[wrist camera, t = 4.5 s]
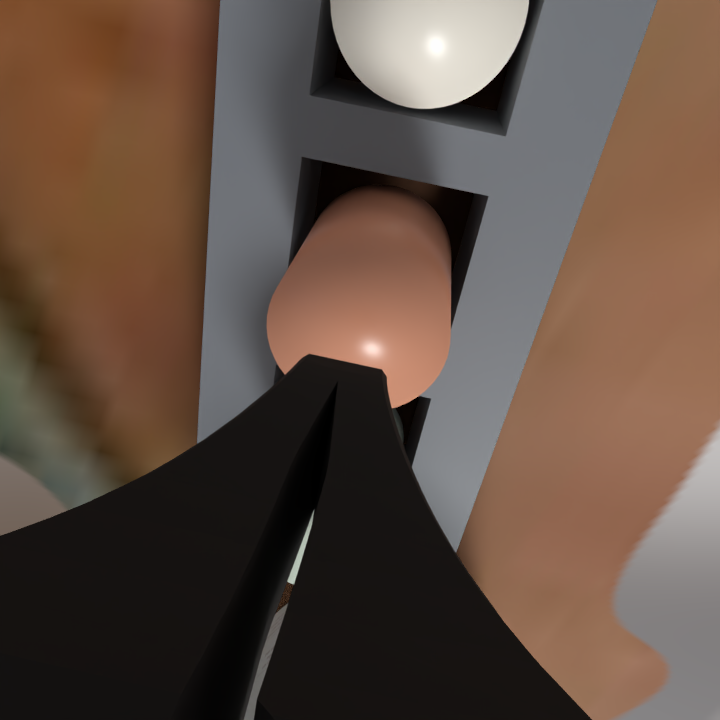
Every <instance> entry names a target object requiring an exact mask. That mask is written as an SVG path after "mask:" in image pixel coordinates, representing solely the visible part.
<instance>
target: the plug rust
mask: <svg viewBox="0 0 720 720" xmlns="http://www.w3.org/2000/svg"><path fill="white" fill-rule="evenodd" d="M267 336H268V341H269V345H270V349H271V351H272V354H273V356H274V358H275V360H276V362H277V364H278V366H279V367H280V369H281V370H282V372H283V373H284V374H286V373H287V372H288V371H289V370H290V369H291V368H292V367H293V366H294V365H295V364H296V363H297V362H298V361H299V360H300V359H301V358H302V357H304V356H306V355H308V354H313V355H318V356H322V357H327V358H332V359H336V360H341V361H345V362H350V363H355V364H359V365H364V366H369V367H373V368H378V369H382V370H383V372H384V373H385V375H386V376H387V387H388V393H389V398H390V403H391V407H392V408H396V407H399V406H401V405H403V404H406V403H408V402H410V401H411V400H413V399H415V398H417V397H418V396H419V395H421V394H422V393H423V392H424V391H426V390H427V389H428V388H429V387H430V386H431V385H432V384H433V382H434V381H435V380H436V378H437V377H438V376H439V374H440V372H441V371H442V369H443V367H444V365H445V362H446V359H447V357H448V353H449V348H450V338H451V244H450V239H449V235H448V232H447V230H446V227H445V225H444V223H443V221H442V220H441V218H440V217H439V215H438V214H437V213H436V211H435V210H434V209H433V208H432V207H431V206H430V205H429V204H428V203H427V202H426V201H424V200H423V199H422V198H421V197H419V196H417V195H415V194H414V193H412V192H410V191H407V190H405V189H403V188H399V187H395V186H390V185H366V186H361V187H358V188H354V189H352V190H349V191H347V192H345V193H343V194H342V195H340V196H338V197H337V198H336V199H334V200H333V201H332V202H331V203H330V204H329V205H328V206H327V207H326V208H325V209H324V210H323V212H322V213H321V214H320V216H319V217H318V219H317V221H316V222H315V224H314V226H313V227H312V229H311V231H310V232H309V234H308V236H307V237H306V239H305V241H304V243H303V244H302V246H301V248H300V249H299V251H298V253H297V254H296V256H295V258H294V259H293V261H292V263H291V264H290V266H289V268H288V269H287V271H286V273H285V274H284V276H283V278H282V280H281V281H280V283H279V285H278V286H277V288H276V290H275V292H274V294H273V296H272V299H271V301H270V304H269V308H268V314H267Z"/></svg>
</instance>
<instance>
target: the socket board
mask: <svg viewBox="0 0 720 720" xmlns="http://www.w3.org/2000/svg"><path fill="white" fill-rule="evenodd" d="M656 3H657V0H529V5H528V12H527V17H526V21H525V25H524V28H523V31H522V34H521V37H520V39H519V42H518V44H517V46H516V48H515V50H514V52H513V54H512V56H511V59H510V63H509V67H508V71H507V74H506V78H505V82H504V85H503V89H502V93H501V96H500V100H499V104H498V107H497V111H495V110H490V109H485V108H481V107H476V106H471V105H466V104H461V103H455V104H452V105H448V106H445V107H439V108H432V109H417V108H410V107H405V106H401V105H398V104H395V103H393V102H390V101H388V100H386V99H384V98H382V97H381V96H379V95H377V94H376V93H374V92H373V91H372V90H370V89H369V88H368V87H367V86H365V85H364V84H363V83H360V82H356V81H351V80H346V79H341V78H336V77H335V70H336V63H337V56H338V49H339V45H338V43H337V40H336V36H335V33H334V29H333V24H332V17H331V3H330V0H220V15H219V34H218V53H217V72H216V91H215V110H214V129H213V149H212V168H211V187H210V206H209V225H208V244H207V263H206V282H205V301H204V320H203V339H202V358H201V378H200V397H199V416H198V435H197V444H198V443H199V442H201V441H202V440H204V439H205V438H207V437H208V436H209V435H211V434H212V433H214V432H215V431H216V430H218V429H219V428H221V427H222V426H223V425H225V424H226V423H228V422H229V421H230V420H232V419H233V418H235V417H236V416H237V415H238V414H240V413H241V412H242V411H244V410H245V409H246V408H247V407H248V406H250V405H251V404H252V403H253V402H254V401H256V400H257V399H258V398H259V397H261V396H262V395H263V394H264V393H265V392H267V391H268V390H269V389H270V388H271V387H272V386H273V385H274V384H276V383H277V382H278V381H279V380H280V379H281V378H282V377H283V376H284V375H285V374H284V373H283V372H282V370H281V369H280V367H279V366H278V364H277V362H276V360H275V358H274V356H273V354H272V351H271V349H270V345H269V341H268V336H267V314H268V308H269V304H270V301H271V299H272V296H273V294H274V292H275V290H276V288H277V286H278V285H279V283H280V281H281V280H282V278H283V276H284V274H285V273H286V271H287V269H288V268H289V266H290V264H291V263H292V261H293V259H294V258H295V256H296V254H297V253H298V251H299V249H300V248H301V246H302V244H303V243H304V241H305V239H306V237H307V236H308V234H309V232H310V231H311V229H312V227H313V225H314V218H315V211H316V204H317V197H318V190H319V183H320V176H321V169H322V161H325V162H330V163H334V164H339V165H344V166H349V167H353V168H358V169H363V170H368V171H372V172H377V173H382V174H386V175H391V176H396V177H401V178H405V179H410V180H415V181H420V182H424V183H429V184H434V185H439V186H443V187H448V188H453V189H458V190H462V191H467V192H472V193H474V196H473V200H472V203H471V207H470V211H469V215H468V218H467V222H466V226H465V229H464V233H463V237H462V240H461V244H460V248H459V251H458V255H457V259H456V262H455V266H454V270H453V274H452V277H451V338H450V348H449V353H448V357H447V359H446V362H445V365H444V367H443V369H442V371H441V372H440V374H439V376H438V377H437V378H436V380H435V381H434V382H433V384H432V385H431V386H430V387H429V388H428V389H427V390H426V391H424V392H423V393H422V394H421V395H419V399H418V403H417V406H416V410H415V414H414V418H413V421H412V425H411V429H410V432H409V436H408V440H407V443H406V445H403V446H404V448H405V451H406V454H407V457H408V459H409V462H410V464H411V467H412V469H413V472H414V474H415V476H416V478H417V481H418V483H419V485H420V487H421V490H422V492H423V494H424V496H425V498H426V500H427V502H428V504H429V506H430V508H431V510H432V512H433V514H434V516H435V518H436V520H437V521H438V523H439V525H440V527H441V529H442V530H443V532H444V534H445V536H446V537H447V539H448V541H449V543H450V544H451V546H452V547H453V549H454V551H455V552H457V549H458V546H459V544H460V541H461V538H462V535H463V533H464V530H465V527H466V524H467V522H468V519H469V516H470V513H471V511H472V508H473V505H474V502H475V500H476V497H477V494H478V491H479V489H480V486H481V483H482V480H483V478H484V475H485V472H486V469H487V467H488V464H489V461H490V458H491V456H492V453H493V450H494V447H495V445H496V442H497V439H498V436H499V434H500V431H501V428H502V425H503V423H504V420H505V417H506V414H507V412H508V409H509V406H510V403H511V401H512V398H513V395H514V392H515V390H516V387H517V384H518V382H519V379H520V376H521V373H522V371H523V368H524V365H525V362H526V360H527V357H528V354H529V351H530V349H531V346H532V343H533V340H534V338H535V335H536V332H537V329H538V327H539V324H540V321H541V318H542V316H543V313H544V310H545V307H546V305H547V302H548V299H549V296H550V294H551V291H552V288H553V285H554V283H555V280H556V277H557V274H558V272H559V269H560V266H561V263H562V261H563V258H564V255H565V252H566V250H567V247H568V244H569V241H570V239H571V236H572V233H573V230H574V228H575V225H576V222H577V219H578V217H579V214H580V211H581V208H582V206H583V203H584V200H585V198H586V195H587V192H588V189H589V187H590V184H591V181H592V178H593V176H594V173H595V170H596V167H597V165H598V162H599V159H600V156H601V154H602V151H603V148H604V145H605V143H606V140H607V137H608V134H609V132H610V129H611V126H612V123H613V121H614V118H615V115H616V112H617V110H618V107H619V104H620V101H621V99H622V96H623V93H624V90H625V88H626V85H627V82H628V79H629V77H630V74H631V71H632V68H633V66H634V63H635V60H636V57H637V55H638V52H639V49H640V46H641V44H642V41H643V38H644V35H645V33H646V30H647V27H648V25H649V22H650V19H651V16H652V14H653V11H654V8H655V5H656Z"/></svg>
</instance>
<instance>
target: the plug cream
mask: <svg viewBox="0 0 720 720" xmlns="http://www.w3.org/2000/svg"><path fill="white" fill-rule="evenodd" d="M330 3H331V17H332V24H333V29H334V33H335V36H336V40H337V43H338V45H339V48H340V50H341V53H342V55H343V56H344V58H345V60H346V62H347V64H348V65H349V67H350V68H351V70H352V71H353V72H354V74H355V75H356V76H357V77H358V78H359V79H360V80H361V82H362V83H363V84H364V85H365V86H367V87H368V88H369V89H370V90H372V91H373V92H374V93H376V94H377V95H379V96H381V97H382V98H384V99H386V100H388V101H390V102H393V103H395V104H398V105H401V106H405V107H410V108H417V109H432V108H439V107H445V106H448V105H452V104H455V103H458V102H460V101H462V100H465V99H467V98H468V97H470V96H472V95H473V94H475V93H477V92H478V91H480V90H481V89H482V88H483V87H485V86H486V85H487V84H489V83H490V82H491V81H492V80H493V79H494V78H495V77H496V76H497V75H498V73H499V72H500V71H501V70H502V68H503V67H504V66H505V65H506V63H507V62H508V60H509V58H510V57H511V55H512V54H513V52H514V50H515V48H516V46H517V44H518V42H519V39H520V37H521V34H522V31H523V28H524V25H525V21H526V17H527V12H528V5H529V0H330Z"/></svg>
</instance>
